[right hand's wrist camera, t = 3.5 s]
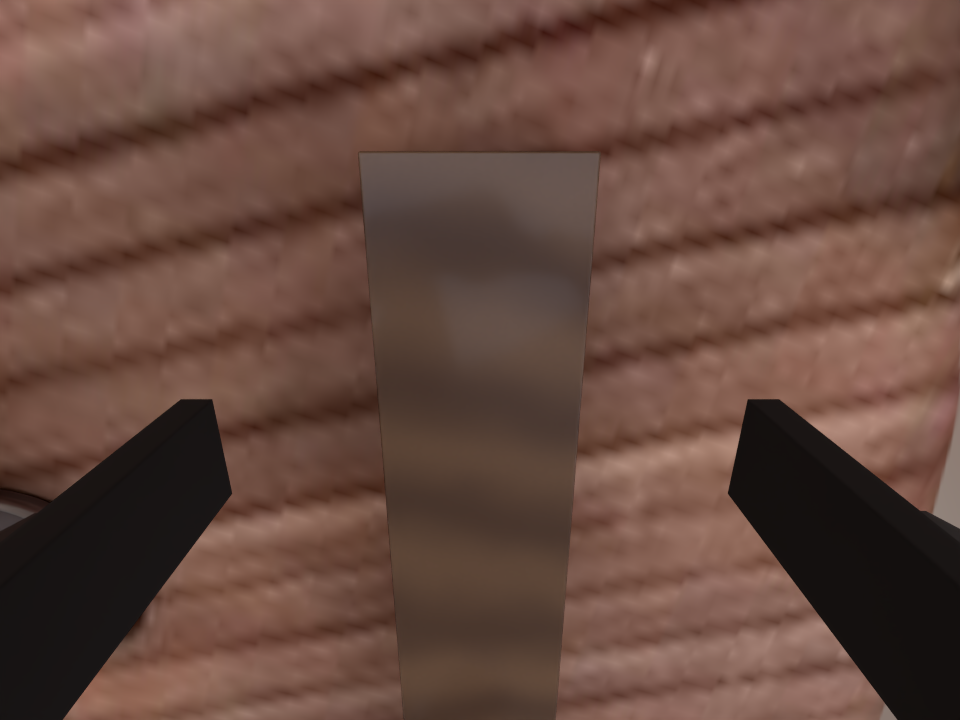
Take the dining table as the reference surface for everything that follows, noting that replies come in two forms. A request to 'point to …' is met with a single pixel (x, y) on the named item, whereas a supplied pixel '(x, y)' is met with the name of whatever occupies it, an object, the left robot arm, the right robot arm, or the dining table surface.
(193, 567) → the dining table surface
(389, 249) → the thick board
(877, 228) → the dining table surface
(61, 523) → the right robot arm
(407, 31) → the dining table surface
